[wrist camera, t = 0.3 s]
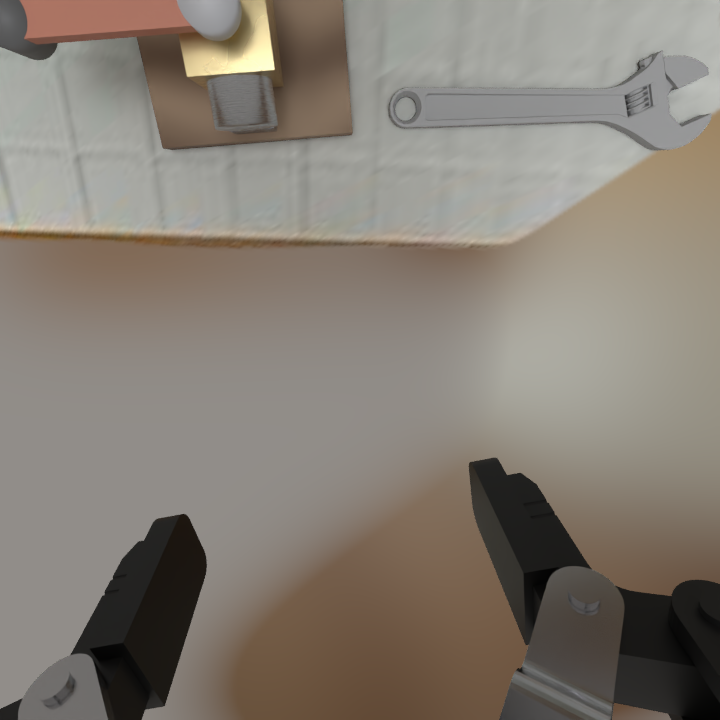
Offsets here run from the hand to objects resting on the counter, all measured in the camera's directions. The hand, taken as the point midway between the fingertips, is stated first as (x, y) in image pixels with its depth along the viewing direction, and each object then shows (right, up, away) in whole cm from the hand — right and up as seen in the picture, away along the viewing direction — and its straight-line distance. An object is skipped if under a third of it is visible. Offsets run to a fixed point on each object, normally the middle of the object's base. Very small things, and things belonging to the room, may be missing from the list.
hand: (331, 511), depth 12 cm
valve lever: (-12, +22, +11) cm, 27 cm away
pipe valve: (-7, +26, +17) cm, 32 cm away
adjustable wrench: (+16, +25, +22) cm, 37 cm away
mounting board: (-7, +26, +19) cm, 33 cm away
